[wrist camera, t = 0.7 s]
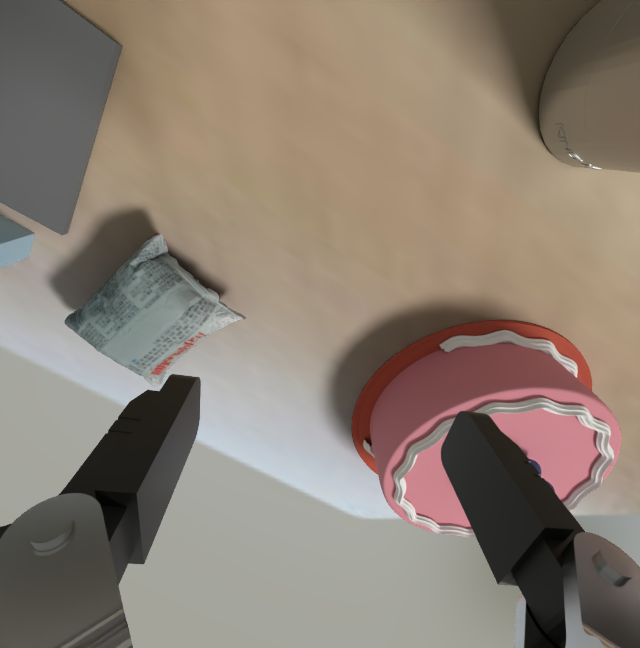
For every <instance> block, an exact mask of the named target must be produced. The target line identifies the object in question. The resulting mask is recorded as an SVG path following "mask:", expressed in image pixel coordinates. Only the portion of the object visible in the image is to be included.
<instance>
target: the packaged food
mask: <svg viewBox="0 0 640 648" xmlns="http://www.w3.org/2000/svg"><path fill="white" fill-rule="evenodd" d="M164 243H165V244H164ZM167 252H168V248H167V244H166V242H165V241H164V236H162V235H161V234H158V233H157V234H155V235H154V236H152V237H151V238H149V239H148V240H147V241H146V242H145V243H144V244H143V245H142V246H141V247H140V248H139V249H138V250H137V251H136V252H135V253H134V254H133V255H132V256H131V257H130V258H129V259H128V260H127V261H126V262H125V263H124V264H123V265H122V266H121V267H120V268H119V269H118V270H117V272H116V273H115V274H114V275H113V276H112V277H111V278H110V279H109V280H108V281H107V283H106V284H105V285H104V287H103V288H102V289H100V290H99V291H98V292H97V293H96V294H95V295H94V296H93V297H92V298H91V299H89V301H88V302H87V304H85V305H84V306H83V307H82V308H81V309H79V310H77V311H75V312H74V313H72V314H70V315H68V317H67V318H66V320H65V324H66V325H67V326H68V327H69V328H71V329H72V330H73V331H75V332H76V333H77V334H78V335H79V336H80V337H82V338H83V339H84V340H86V341H87V342H88V343H89V344H91V345H92V346H94V348H95V349H96V350H97V351H99V352H101V353H102V354H104V355H106V356H107V357H109V358H111V359H112V360H114V361H115V362H117V363H119V364H121V365H122V366H125V367H126V368H128V369H130V370H132V371H133V372H135V373H137V374H139V375H140V376H143V377H144V378H145V379H146V380H147V381H148V382H149V383H150V384H151V385H152V386H158V385H160V384H161V383H162V381H163V378H164V375H165V374H166V371H167V370H168V369H169V368H170V366H171V365H173V364H174V363H175V361H176V360H177V359H178V358H180V357H181V356H182V355H183V354H185V353H186V352H187V351H188V350H189V349H190V348H192V347H194V346H196V345H197V343H198V342H199V341H200V340H202V339H203V338H205V337H207V336H208V335H210V334H212V333H213V332H215V331H217V330H219V329H221V328H223V327H225V326H227V325H229V324H231V323H232V322H235V321H238V320H240V319H245V318H246V317H244V316H243V315H242V314H240V313H237V312H235V311H233V310H231V309H230V308H228V307H227V306H226V305H225V304H224V303H222V302H220V301H219V295H218V294H217V293H216V292H214V291H213V290H211V289H207V288H205V287H204V286H203V285H202V284H201V283H200V281H199V280H198V279H197V278H196V277H194V276H192V275H191V274H190V273H188V272H187V271H186V270H184V269H183V268H182V267H180V266H179V265H178V262H177V260H176V259H175V258H173V257H171V256H169V254H168V253H167Z"/></svg>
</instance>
